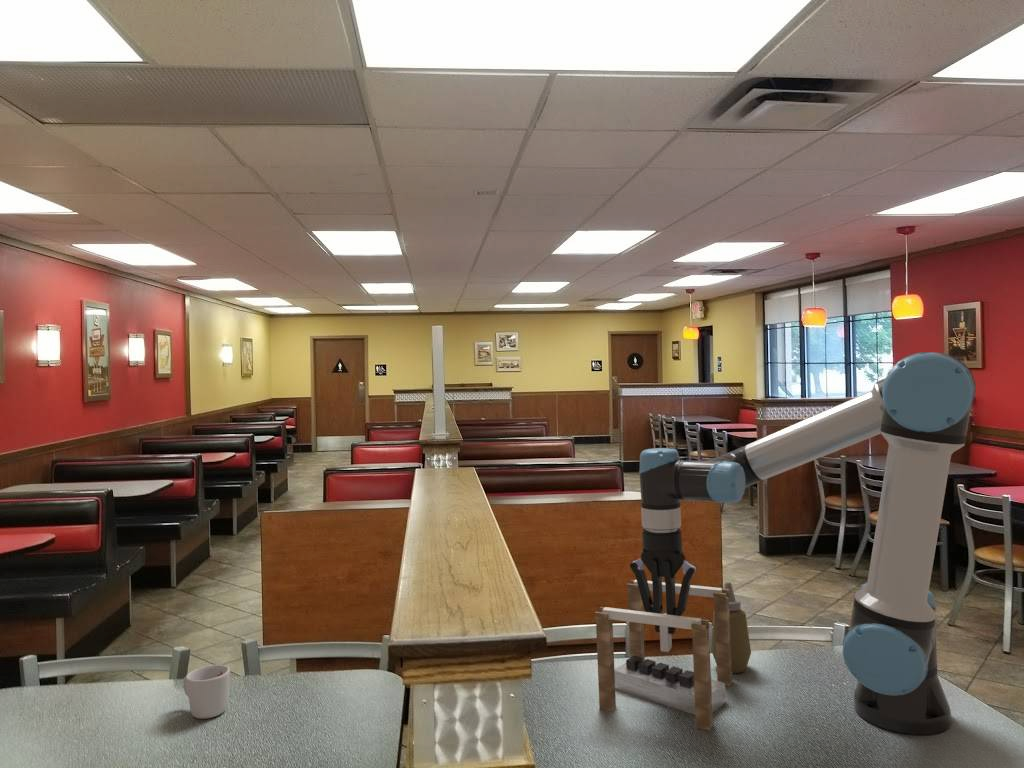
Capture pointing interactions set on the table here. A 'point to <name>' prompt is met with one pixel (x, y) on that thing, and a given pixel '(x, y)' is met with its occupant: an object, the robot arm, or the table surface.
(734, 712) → the table surface
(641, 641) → the posts
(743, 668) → the squeeze bottle
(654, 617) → the long white bar
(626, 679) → the breaker strip
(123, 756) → the table surface
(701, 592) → the white crossbar
